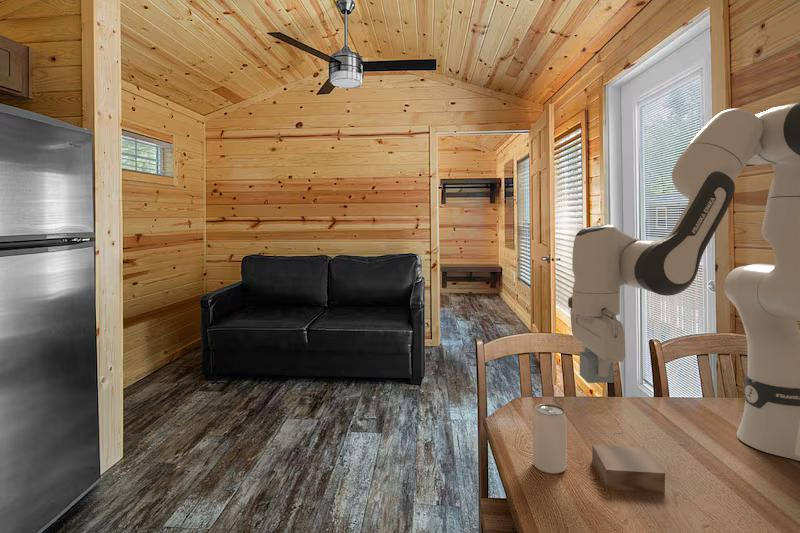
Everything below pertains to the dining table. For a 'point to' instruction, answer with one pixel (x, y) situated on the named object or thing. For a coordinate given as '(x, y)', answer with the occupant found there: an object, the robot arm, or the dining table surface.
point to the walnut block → (628, 468)
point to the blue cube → (593, 369)
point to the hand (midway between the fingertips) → (596, 371)
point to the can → (549, 439)
